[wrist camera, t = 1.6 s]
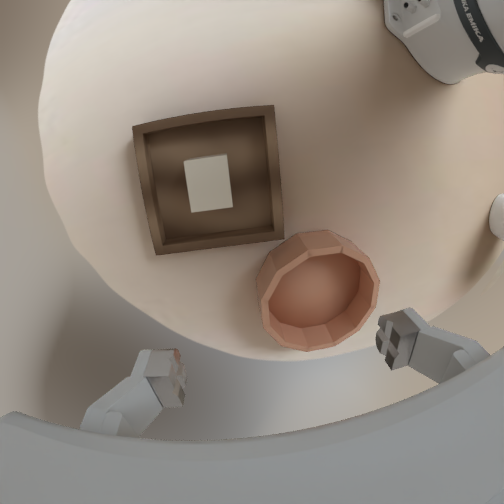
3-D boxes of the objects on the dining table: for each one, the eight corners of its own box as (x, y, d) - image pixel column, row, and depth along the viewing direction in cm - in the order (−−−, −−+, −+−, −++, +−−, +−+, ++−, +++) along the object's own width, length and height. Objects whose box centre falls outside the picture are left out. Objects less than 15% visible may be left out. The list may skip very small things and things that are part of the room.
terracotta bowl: (251, 238, 32) (256, 256, 27) (365, 225, 33) (384, 239, 28) (261, 334, 38) (266, 358, 33) (356, 317, 38) (369, 337, 34)
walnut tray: (140, 127, 25) (132, 126, 23) (269, 108, 26) (273, 105, 23) (161, 245, 31) (156, 255, 28) (279, 229, 32) (284, 239, 29)
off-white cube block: (188, 158, 27) (183, 161, 23) (226, 153, 27) (226, 155, 24) (195, 204, 29) (191, 212, 25) (232, 199, 29) (232, 207, 26)
